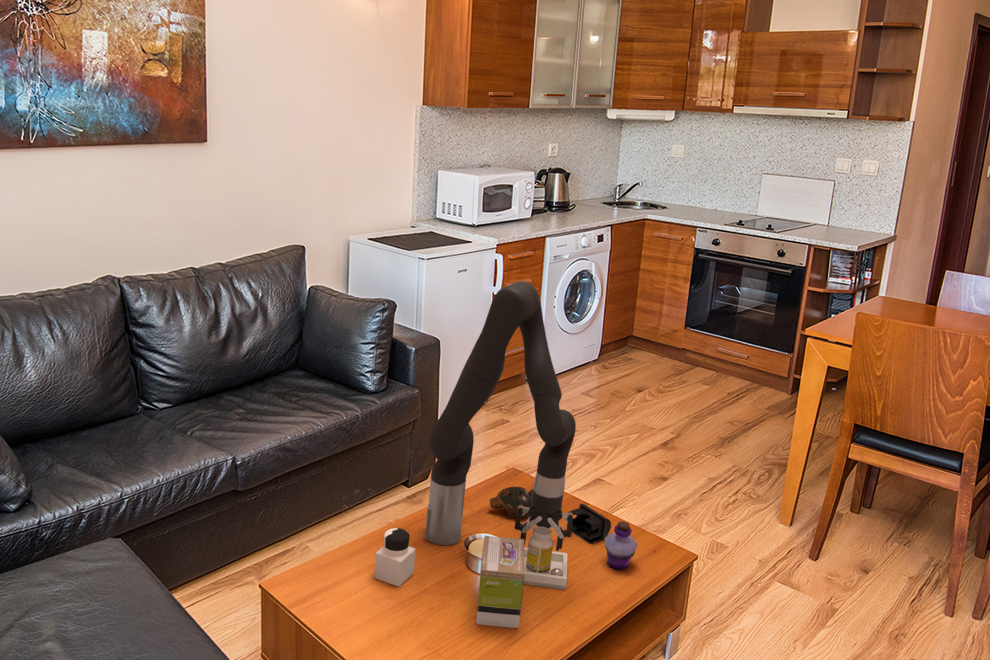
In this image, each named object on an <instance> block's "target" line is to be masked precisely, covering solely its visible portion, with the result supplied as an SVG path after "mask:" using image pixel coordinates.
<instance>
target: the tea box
mask: <svg viewBox="0 0 990 660" xmlns="http://www.w3.org/2000/svg"><path fill="white" fill-rule="evenodd" d="M483 539H484V540H483V547H482V555H481V564H480V565H481V566H480V571H479V572H480V573H479V574H480V575H479V584H478V596H477V607H476V608H477V611H476V622H475V623H476V624H477V625H478V626H479V625H480V626H488V627H489V626H490V627H496V628H497V627H499V628H508V629H509V628H510V629H519V628H520V627H519V626H520V620H521V619H520V618H521V611H522V603H523V602H522V601H523V592H524V585H525V584H524V548H525V546H524V539H520V538H514V537H513V538H512V537H501V536H491V535H490V536H489V535H484V538H483Z"/></svg>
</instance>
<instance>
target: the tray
mask: <svg viewBox="0 0 990 660" xmlns="http://www.w3.org/2000/svg"><path fill="white" fill-rule="evenodd" d="M527 552H528V547H524V584H523V585H527V586H534V587H542V588H549V589H555V590H557V589H558V590H564V591H566V589H567V581H568V553H567V552H561V551H553V550H552V558H551V566H550V571H549V572H548V573H547V574H541V573H534V572H529V571H528V570H527V568H526V561H527ZM554 568H559V569H561V570H562V572H563V576H556V575H551V571H552V569H554Z"/></svg>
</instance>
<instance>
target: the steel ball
mask: <svg viewBox="0 0 990 660" xmlns="http://www.w3.org/2000/svg"><path fill="white" fill-rule="evenodd" d="M551 575H556V576H563V572H562V570H561V569H559V568H554V569H552V571H551Z"/></svg>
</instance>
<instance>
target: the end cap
mask: <svg viewBox="0 0 990 660" xmlns="http://www.w3.org/2000/svg"><path fill="white" fill-rule="evenodd" d="M570 511H571V512H573V516H574V517H573V524H572V534H575V535H576V536H578V537H579V538H580V539H582V540H583V541H585V542H586V543H588V544H590V545H592V544H595V543H598V542H600V541H602V540H603V539H605V537H607V536H608V535H609V534H610V531H611V528H612V522H611V520H610V519H609V518H607V517H606V516H604V515H603V514H601V513H600V512H597V511H596V510H595V509H593V508H591V507H589V506H588V505H587V504H586V503H585V504H584V503H580V504H579V507H578V508H575V509H572V510H570Z"/></svg>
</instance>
